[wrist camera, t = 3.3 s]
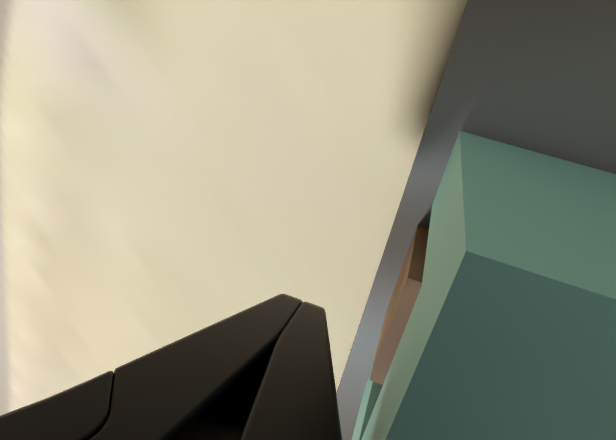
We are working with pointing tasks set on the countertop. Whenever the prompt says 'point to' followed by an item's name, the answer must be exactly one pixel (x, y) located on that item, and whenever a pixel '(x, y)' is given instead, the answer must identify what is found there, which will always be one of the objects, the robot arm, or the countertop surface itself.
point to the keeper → (508, 307)
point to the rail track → (496, 126)
